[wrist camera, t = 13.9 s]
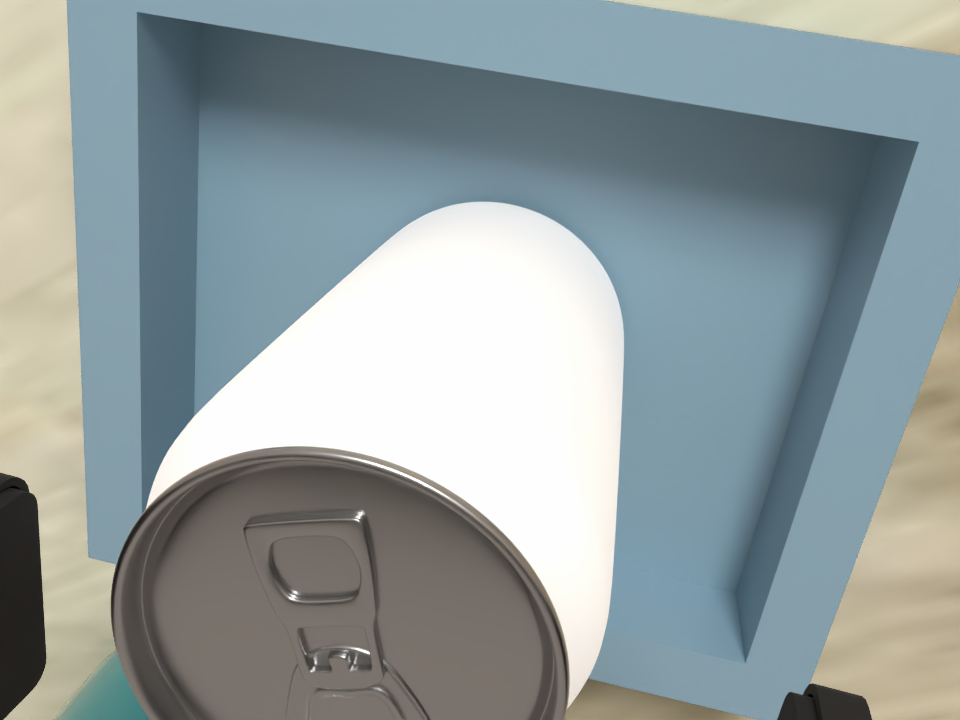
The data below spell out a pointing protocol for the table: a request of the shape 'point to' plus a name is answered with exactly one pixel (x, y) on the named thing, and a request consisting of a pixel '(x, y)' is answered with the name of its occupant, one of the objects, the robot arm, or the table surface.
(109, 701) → the cup
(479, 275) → the can
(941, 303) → the tray
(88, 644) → the table surface
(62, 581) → the table surface
